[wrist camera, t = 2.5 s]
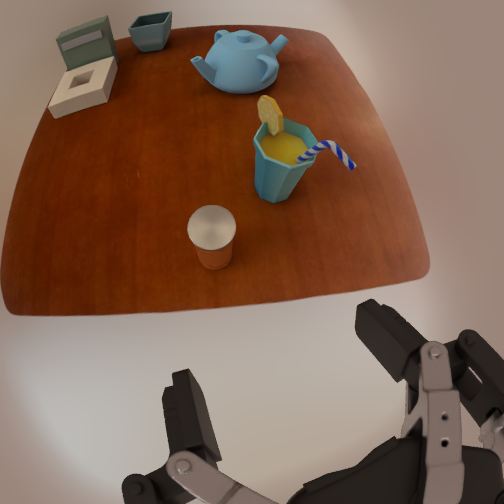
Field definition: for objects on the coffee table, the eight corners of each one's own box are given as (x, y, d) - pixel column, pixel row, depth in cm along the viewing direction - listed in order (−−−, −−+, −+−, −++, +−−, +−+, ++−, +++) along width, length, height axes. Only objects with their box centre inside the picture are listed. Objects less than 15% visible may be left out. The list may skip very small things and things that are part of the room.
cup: (329, 207, 39) (375, 145, 24) (296, 241, 37) (337, 184, 22) (260, 149, 41) (276, 74, 26) (224, 176, 39) (226, 99, 24)
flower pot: (142, 42, 50) (137, 15, 41) (174, 37, 51) (172, 10, 42) (133, 57, 47) (127, 29, 39) (168, 53, 48) (165, 23, 40)
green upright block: (72, 82, 44) (54, 40, 31) (76, 72, 45) (61, 32, 32) (115, 68, 46) (103, 22, 33) (119, 59, 47) (107, 15, 34)
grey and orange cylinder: (198, 274, 34) (189, 253, 26) (194, 238, 35) (185, 208, 27) (236, 268, 35) (239, 246, 26) (230, 233, 36) (232, 202, 28)
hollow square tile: (54, 119, 40) (47, 107, 37) (69, 83, 44) (64, 72, 40) (107, 101, 42) (102, 88, 38) (117, 68, 46) (114, 55, 42)
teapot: (286, 104, 45) (298, 57, 34) (192, 98, 43) (188, 49, 33) (283, 63, 49) (292, 23, 39) (205, 57, 48) (205, 17, 37)
